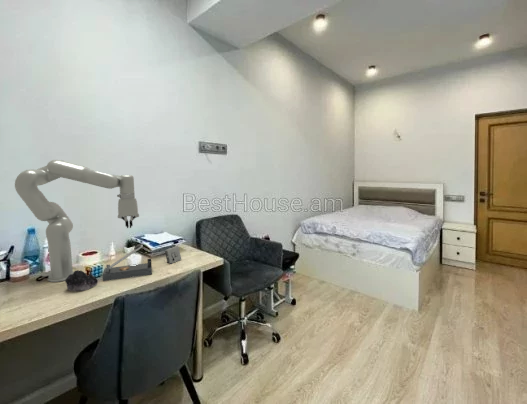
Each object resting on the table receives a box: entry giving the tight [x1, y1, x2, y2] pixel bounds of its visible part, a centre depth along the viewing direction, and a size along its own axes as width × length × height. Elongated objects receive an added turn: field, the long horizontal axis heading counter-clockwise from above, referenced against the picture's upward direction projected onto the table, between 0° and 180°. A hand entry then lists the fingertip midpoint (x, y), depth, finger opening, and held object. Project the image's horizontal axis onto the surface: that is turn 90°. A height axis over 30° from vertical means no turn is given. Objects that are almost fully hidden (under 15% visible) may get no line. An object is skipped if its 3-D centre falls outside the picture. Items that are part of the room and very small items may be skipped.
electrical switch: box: [164, 245, 182, 264], centre depth 174 cm, size 9×5×9 cm, turn 152°
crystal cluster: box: [64, 269, 99, 292], centre depth 136 cm, size 13×14×10 cm
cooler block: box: [102, 258, 153, 282], centre depth 151 cm, size 24×9×7 cm, turn 114°
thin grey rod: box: [109, 243, 143, 269], centre depth 150 cm, size 22×3×2 cm
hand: (129, 227), depth 158 cm, fingers closed
